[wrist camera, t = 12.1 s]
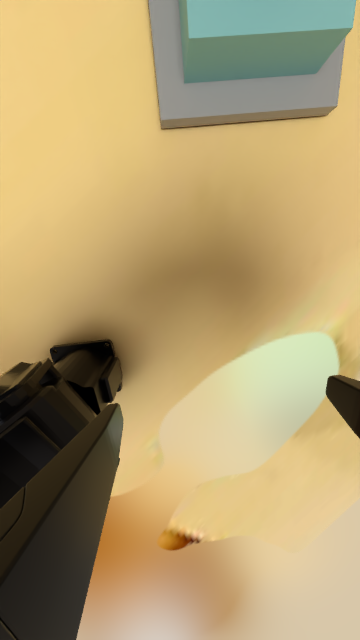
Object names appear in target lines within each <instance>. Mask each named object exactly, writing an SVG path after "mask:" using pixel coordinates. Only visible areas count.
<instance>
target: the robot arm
mask: <svg viewBox="0 0 360 640" xmlns="http://www.w3.org/2000/svg"><path fill="white" fill-rule="evenodd" d="M105 343H108V344H109V346H107V345H106V344H105ZM54 349H55V350H57V352H56V351H55V350H54ZM50 354H51V357H52V359H53V362H54V363H52V361H51V360H50V359H49V358H47V359H45V360H44V361H42V362H41V361H39V362H37V363H35V364H28V363H23V362H21V363H19V364H17V365H15V366H14V367H13V368H11V369H10V370H8V371H7V372H5V373H4V374H3V375H1V376H0V640H76V638H77V633H78V629H79V625H80V620H81V617H82V613H83V608H84V604H85V599H86V596H87V592H88V587H89V583H90V579H91V575H92V570H93V566H94V562H95V558H96V554H97V550H98V546H99V541H100V537H101V533H102V528H103V525H104V520H105V516H106V512H107V508H108V504H109V500H110V495H111V491H112V487H113V483H114V479H115V474H116V471H117V468H118V465H119V461H120V458H119V452H120V445H121V437H122V430H123V416H122V412H121V408H120V405H119V404H118V403H115V404H109V405H108V406H107V404H108V403H112V401H113V400H114V398H115V395H116V392H119V391H120V390H121V388H122V383H121V379H122V373H121V368H120V364H119V359H118V358H117V357H115V353H114V348H113V344H112V342H111V341H110V340H99V341H91V342H82V343H74V344H65V345H57V346H53V347H52V348H51V349H50ZM118 387H119V388H118ZM326 395H327V397H328V399H329V400H330V402H331V403H332V404H333V405H334V407H335V408H336V409H337V411H338V412H339V413H340V415H341V416H342V417H343V419H344V420H345V421H346V423H347V424H348V425H349V426H350V428H351V429H352V430H353V431H354V433H355V434H356V435H357V436H358V437H359V439H360V381H357V380H354V379H351V378H348V377H345V376H342V375H334V376H330V377H329V378H328V381H327V387H326Z"/></svg>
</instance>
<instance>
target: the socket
mask: <svg viewBox="0 0 360 640" xmlns="http://www.w3.org/2000/svg"><path fill="white" fill-rule="evenodd" d="M148 5H149V14H150V24H151V34H152V43H153V53H154V63H155V73H156V82H157V92H158V102H159V111H160V121H161V129H163V128H175V127H187V126H200V125H212V124H224V123H237V122H249V121H261V120H273V119H286V118H298V117H310V116H322V115H328V114H329V113H330V112H331V111H332V110H333V109H334V108H336V107H337V104H338V95H339V87H340V78H341V70H342V61H343V53H344V45H345V37H346V35H347V34H348V33H349V32H350V30H351V29H352V28H353V21H354V13H355V5H356V0H148Z"/></svg>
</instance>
